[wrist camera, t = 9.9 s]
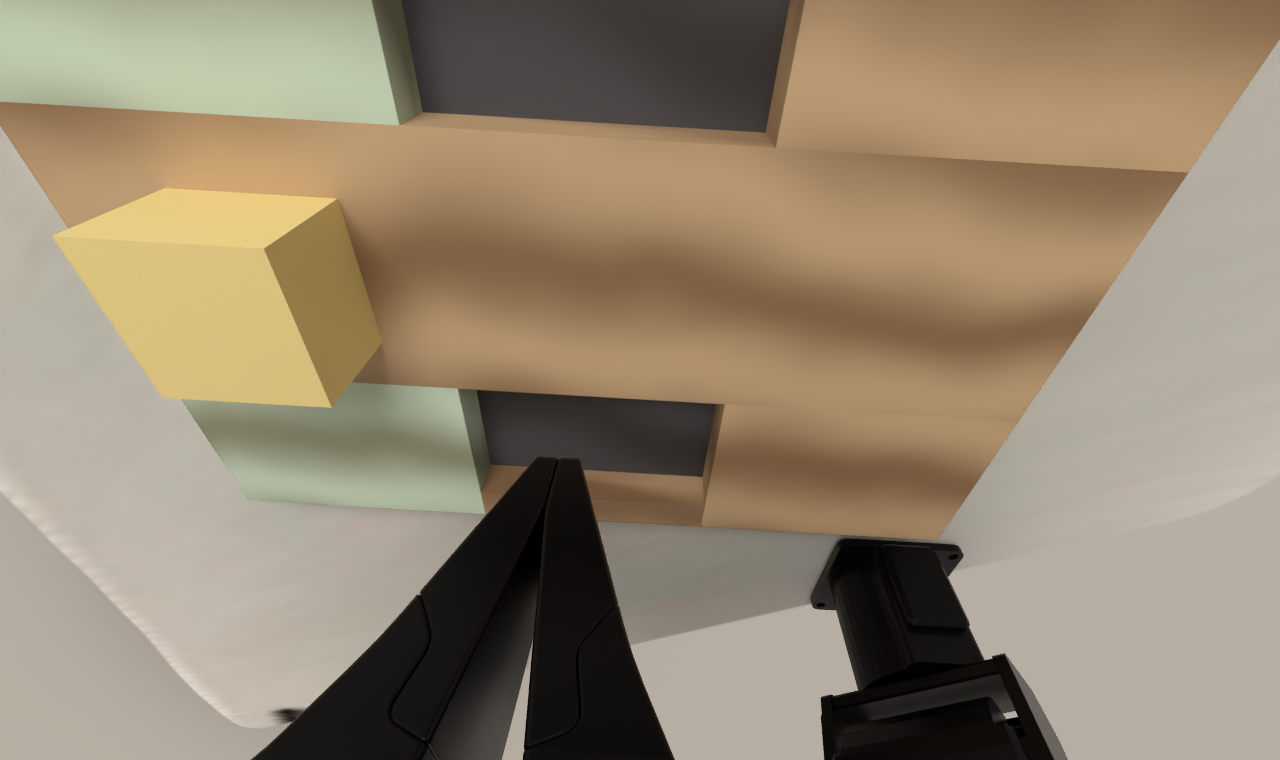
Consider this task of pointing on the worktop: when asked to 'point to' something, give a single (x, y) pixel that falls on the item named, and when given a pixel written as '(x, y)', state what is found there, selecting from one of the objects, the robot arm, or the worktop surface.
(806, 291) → the trap deck
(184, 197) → the mustard block
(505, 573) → the robot arm
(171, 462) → the worktop surface
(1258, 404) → the worktop surface
